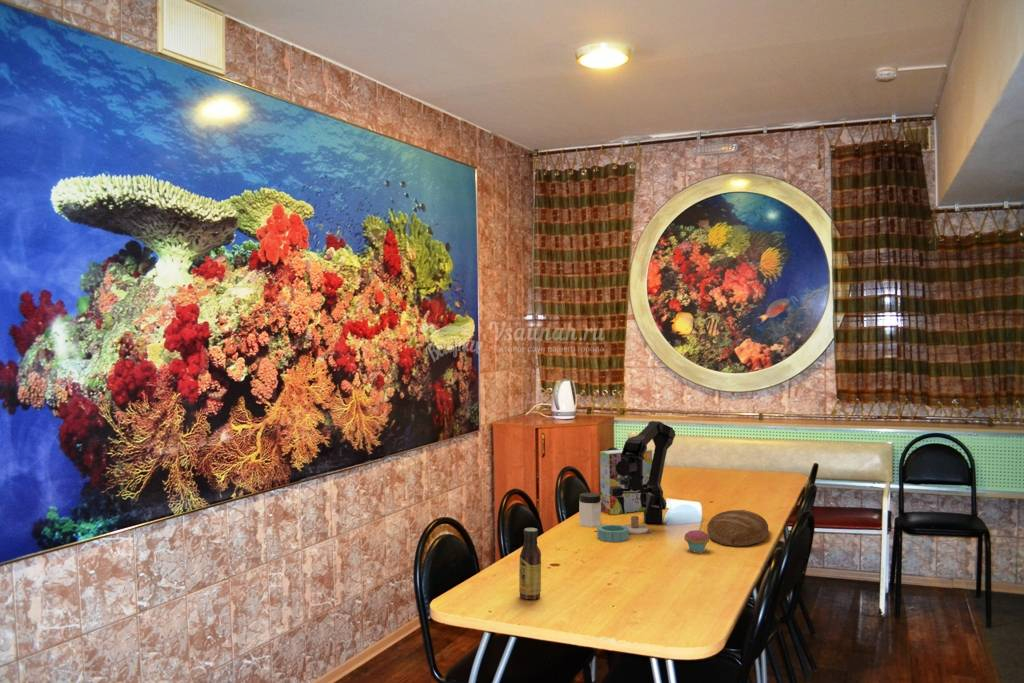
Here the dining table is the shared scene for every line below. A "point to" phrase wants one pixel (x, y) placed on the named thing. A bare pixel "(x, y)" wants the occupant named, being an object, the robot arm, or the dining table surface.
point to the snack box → (612, 479)
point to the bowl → (612, 533)
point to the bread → (737, 528)
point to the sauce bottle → (530, 566)
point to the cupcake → (697, 539)
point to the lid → (636, 526)
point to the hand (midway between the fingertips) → (635, 513)
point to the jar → (590, 509)
